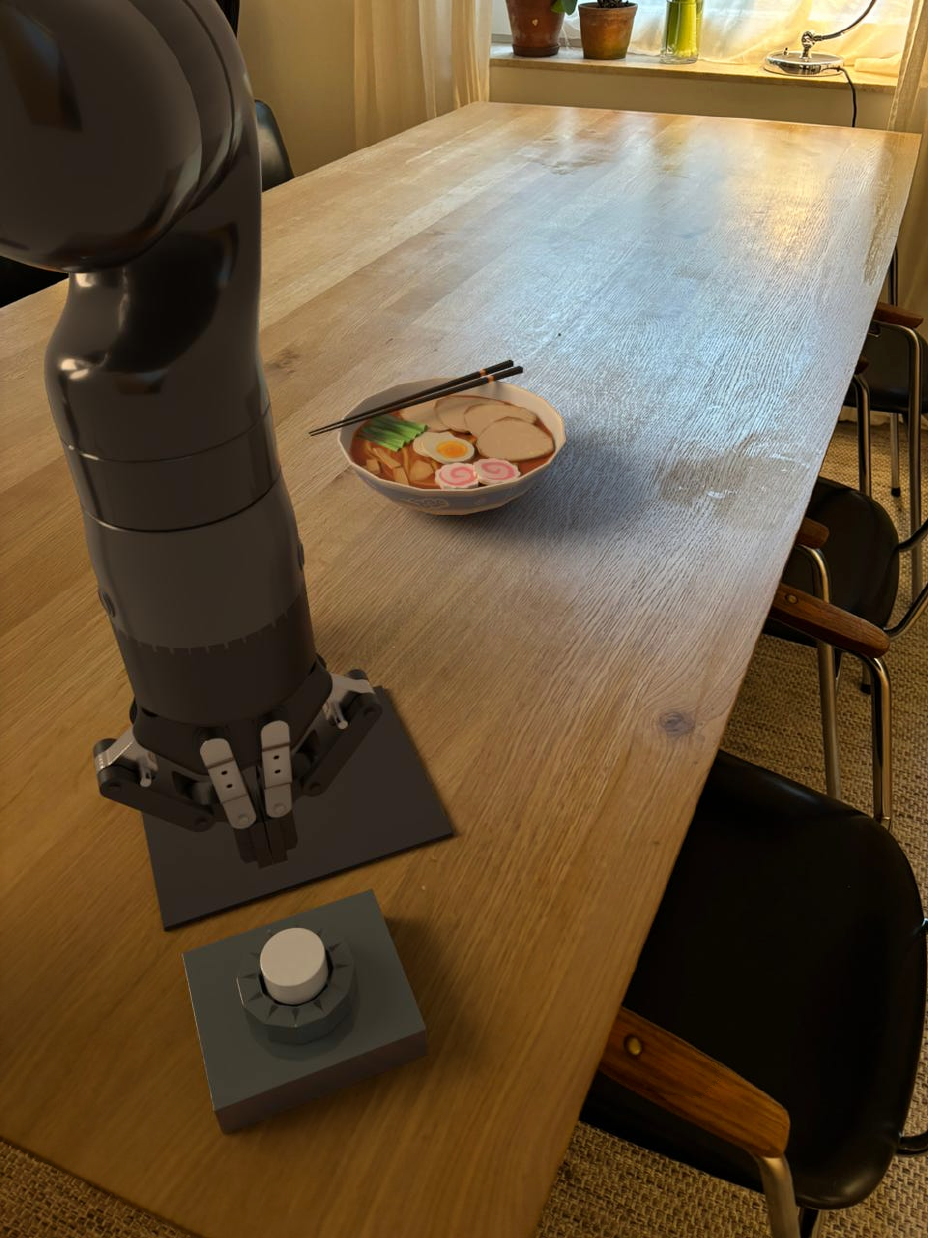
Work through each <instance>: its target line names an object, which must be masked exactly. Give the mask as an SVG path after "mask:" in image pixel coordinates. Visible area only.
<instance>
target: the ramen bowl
mask: <svg viewBox="0 0 928 1238" xmlns="http://www.w3.org/2000/svg"><path fill="white" fill-rule="evenodd" d="M514 364H515V361H514V360H512V359H508V360H505V361H502V362H499V363H496V364H494V365H491V366H488V367H485V368H483V369H481V370H476V371H474V372H472V373H469V374H466V375H463V376H433V377H426V378H421V379H416V380H415V379H414V380H410V381H404V382H398V383H395V384H392V385H390V386H388V387H385V388H383V389H381V390H378V391H376V392H373V393H372V394H369V395H367V396H365V397H362V399H360V400H359V401H358V402H357V403H356V404H355V405H354V406H353V407H352V408H350V409H349V410H348V411H347V412H346V413H345V414H344V415H343V416H342V417H341V419H340V420H339V421H336V422H333V423H330V424H328V425H325V426H322V427H320V428H317V429H314V430H311V431H308V435H310V437H315V436H317V435H321V434H324V433H325V434H326V433H328V432H331V431H334V430H337V429H338V431H337V436H336V442H337V444H338V445H339V448H340V449H341V451H342V453H343V454H344V456H345V459H346V461H347V462H348V464H349V465H350V466H351V468H352V469H353V471H354V472H355V474H356V475H357V477H359V479H361V480H362V481H363V482H364V483H365V484H366V485H367V486H368V487H369V488H371V489H372V490H374V491H375V492H376V493H377V494H380V495H381V496H382V497H384V498H386V499H388V500H389V501H391V502H392V503H394V504H396V505H398V506H399V507H403V508H407V509H411V510H415V511H419V512H421V513H427V514H431V515H440V516H441V515H443V516H445V515H448V516H450V515H451V516H452V515H453V516H455V515H457V516H460V515H461V516H463V515H464V516H465V515H469V514H473V513H479V512H484V511H488V510H493V509H496V508H500V507H503V505H505V504H507V503H509V502H511V501H513V500H514V499H516V498H518V497H520V496H521V495H523V494H525V493H527V491H529V490H530V489H531V488H533V487H534V485H535V484H536V483H537V482H538V481H539V480H540V479H541V478H542V476H543V475H544V474H545V472H546V471H547V470H548V469H549V467H550V466H551V465H552V463H553V462H554V461H555V459H556V458H557V457H558V455H559V453H560V452H561V450H562V449H563V447H564V446H565V444H566V442H567V438H566V430H565V429H566V427H565V419H564V417H563V416H562V415H561V414H560V413H559V412H558V410H557V409H556V408H555V406H553V405H552V404H551V403H550V402H549V401H548V399H546V398H545V397H543V396H540V395H539V394H536V393H534V392H532V391H529V390H528V389H526V388H523V387H521V386H519V385H517V384H514V383H508V382H504V381H502V380H504V379H507V378H510V377H511V378H512V377H514V376H518V375H521V374H523V373H524V367H523V366H522V365H517V366H515V365H514Z"/></svg>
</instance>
